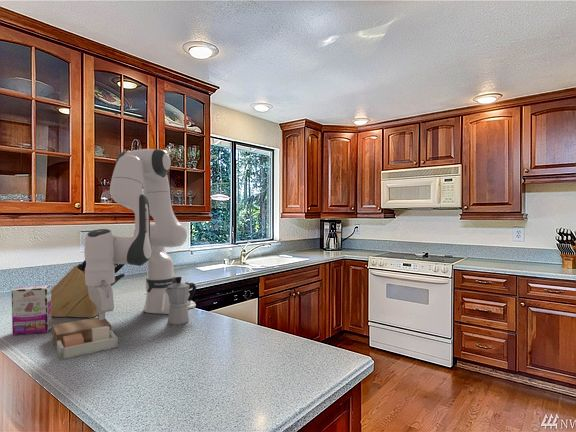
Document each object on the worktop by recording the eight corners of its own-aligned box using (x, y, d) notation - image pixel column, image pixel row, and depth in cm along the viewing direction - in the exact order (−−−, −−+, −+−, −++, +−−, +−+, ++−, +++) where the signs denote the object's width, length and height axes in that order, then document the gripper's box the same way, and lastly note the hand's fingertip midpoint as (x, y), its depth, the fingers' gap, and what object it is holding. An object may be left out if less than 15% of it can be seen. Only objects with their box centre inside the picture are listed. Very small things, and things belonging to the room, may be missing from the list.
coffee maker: (171, 327, 138) (171, 280, 137) (158, 323, 143) (158, 278, 142) (202, 318, 150) (202, 275, 149) (189, 314, 155) (189, 272, 154)
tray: (111, 339, 126) (111, 330, 126) (117, 347, 119) (117, 337, 118) (57, 350, 116) (56, 340, 116) (60, 359, 109) (60, 349, 109)
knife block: (114, 319, 147) (114, 243, 146) (31, 317, 149) (30, 242, 148) (128, 311, 158) (127, 241, 158) (50, 309, 160) (49, 240, 159)
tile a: (108, 325, 123) (109, 327, 121) (108, 340, 123) (109, 342, 121) (91, 328, 120) (92, 330, 118) (91, 343, 120) (92, 345, 118)
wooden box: (103, 329, 135) (103, 316, 135) (111, 339, 126) (111, 324, 125) (52, 339, 125) (52, 325, 125) (57, 350, 116) (56, 334, 116)
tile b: (81, 339, 118) (80, 333, 118) (83, 344, 114) (83, 337, 114) (63, 342, 115) (63, 336, 115) (65, 347, 111) (65, 341, 111)
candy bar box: (52, 328, 136) (52, 285, 136) (47, 333, 131) (47, 288, 131) (17, 330, 133) (17, 286, 133) (11, 335, 128) (10, 289, 128)
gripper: (118, 282, 115) (119, 325, 116) (103, 272, 131) (104, 309, 132) (96, 285, 111) (97, 329, 112) (84, 274, 127) (85, 313, 128)
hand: (101, 318), depth 122 cm, fingers closed
